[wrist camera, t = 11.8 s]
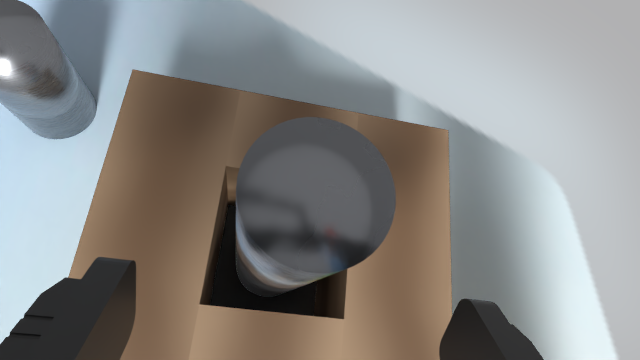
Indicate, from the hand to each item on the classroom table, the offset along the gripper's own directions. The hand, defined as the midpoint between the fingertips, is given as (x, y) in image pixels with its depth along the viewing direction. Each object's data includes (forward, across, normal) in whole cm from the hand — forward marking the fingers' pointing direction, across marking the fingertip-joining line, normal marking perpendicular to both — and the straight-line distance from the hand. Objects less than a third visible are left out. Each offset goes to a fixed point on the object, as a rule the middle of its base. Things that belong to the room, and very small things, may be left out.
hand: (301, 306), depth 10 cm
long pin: (+12, 0, +8) cm, 14 cm away
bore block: (+12, 0, +8) cm, 14 cm away
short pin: (+17, +14, +2) cm, 22 cm away
